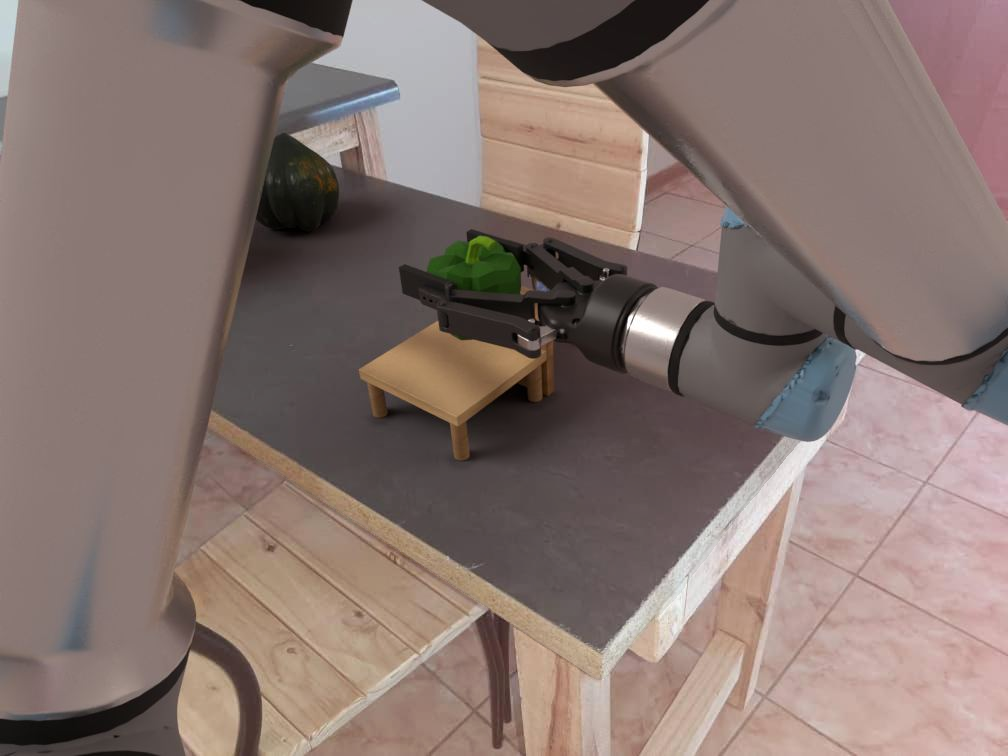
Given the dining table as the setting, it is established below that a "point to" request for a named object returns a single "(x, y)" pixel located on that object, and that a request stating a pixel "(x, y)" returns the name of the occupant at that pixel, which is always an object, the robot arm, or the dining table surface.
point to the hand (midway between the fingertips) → (438, 260)
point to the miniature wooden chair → (455, 377)
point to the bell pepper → (478, 267)
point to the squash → (297, 187)
